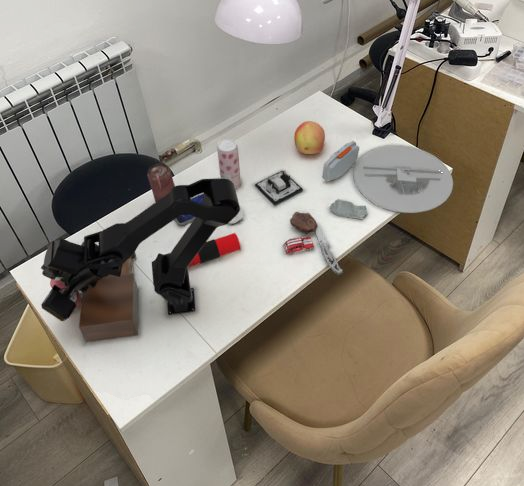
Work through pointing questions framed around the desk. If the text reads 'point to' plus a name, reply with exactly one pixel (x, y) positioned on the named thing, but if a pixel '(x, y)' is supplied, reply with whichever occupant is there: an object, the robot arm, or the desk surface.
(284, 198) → the light switch
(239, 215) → the computer mouse
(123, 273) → the drawer
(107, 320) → the cabinet
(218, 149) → the beverage can
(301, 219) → the stone
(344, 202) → the stone tool
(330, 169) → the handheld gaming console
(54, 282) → the lotion bottle
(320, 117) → the desk surface
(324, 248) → the knife
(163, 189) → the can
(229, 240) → the dynamite stick
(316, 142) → the apple
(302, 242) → the toy car
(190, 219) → the smartphone
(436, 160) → the plate
